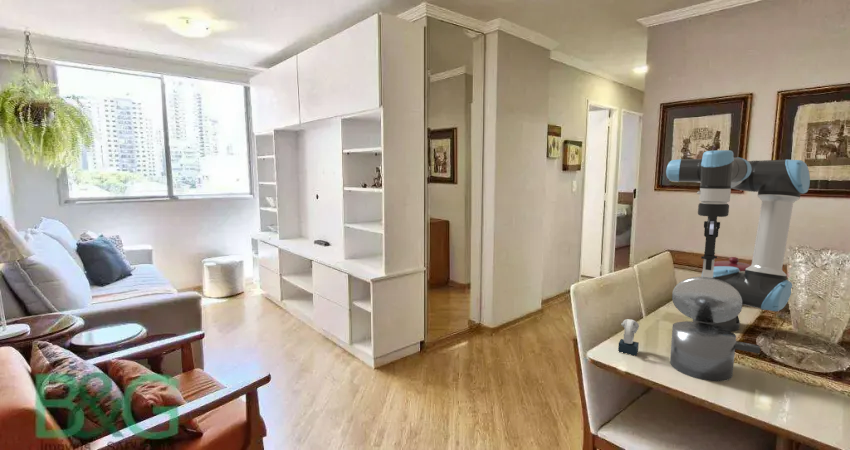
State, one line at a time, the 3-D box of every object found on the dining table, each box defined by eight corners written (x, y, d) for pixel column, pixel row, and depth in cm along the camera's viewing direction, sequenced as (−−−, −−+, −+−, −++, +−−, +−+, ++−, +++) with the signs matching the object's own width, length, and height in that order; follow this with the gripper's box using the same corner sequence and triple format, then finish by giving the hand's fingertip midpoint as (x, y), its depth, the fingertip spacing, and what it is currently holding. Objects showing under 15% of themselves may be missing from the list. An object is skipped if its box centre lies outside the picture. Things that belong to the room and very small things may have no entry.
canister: (723, 293, 200) (726, 252, 198) (764, 304, 184) (769, 259, 181) (697, 298, 194) (700, 254, 191) (737, 309, 177) (742, 262, 175)
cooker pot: (672, 350, 137) (675, 316, 136) (754, 368, 125) (757, 330, 123) (667, 371, 123) (670, 333, 122) (758, 393, 111) (762, 351, 109)
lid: (671, 316, 136) (672, 310, 138) (739, 328, 126) (739, 321, 127) (672, 276, 127) (673, 269, 129) (745, 284, 117) (745, 278, 118)
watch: (638, 349, 139) (640, 318, 137) (635, 358, 132) (637, 325, 131) (621, 345, 142) (622, 315, 141) (616, 353, 135) (618, 322, 134)
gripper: (699, 201, 128) (693, 273, 132) (697, 203, 118) (691, 282, 121) (728, 201, 124) (722, 276, 127) (729, 204, 114) (722, 286, 117)
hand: (707, 279), depth 124 cm, fingers closed
